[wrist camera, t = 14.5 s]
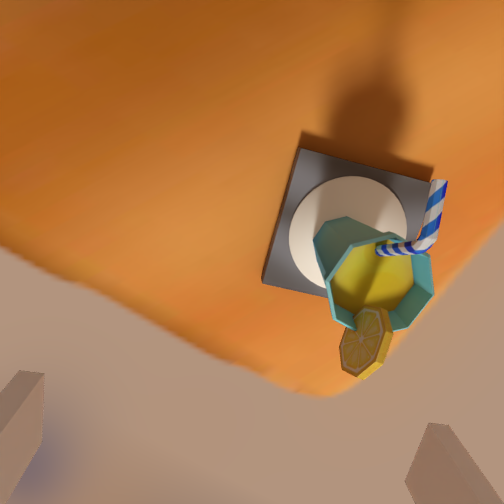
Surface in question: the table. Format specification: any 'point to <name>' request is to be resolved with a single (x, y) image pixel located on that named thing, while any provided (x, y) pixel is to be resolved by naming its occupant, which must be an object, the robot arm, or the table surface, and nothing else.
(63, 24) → the table surface
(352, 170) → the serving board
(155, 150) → the table surface
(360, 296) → the cup
